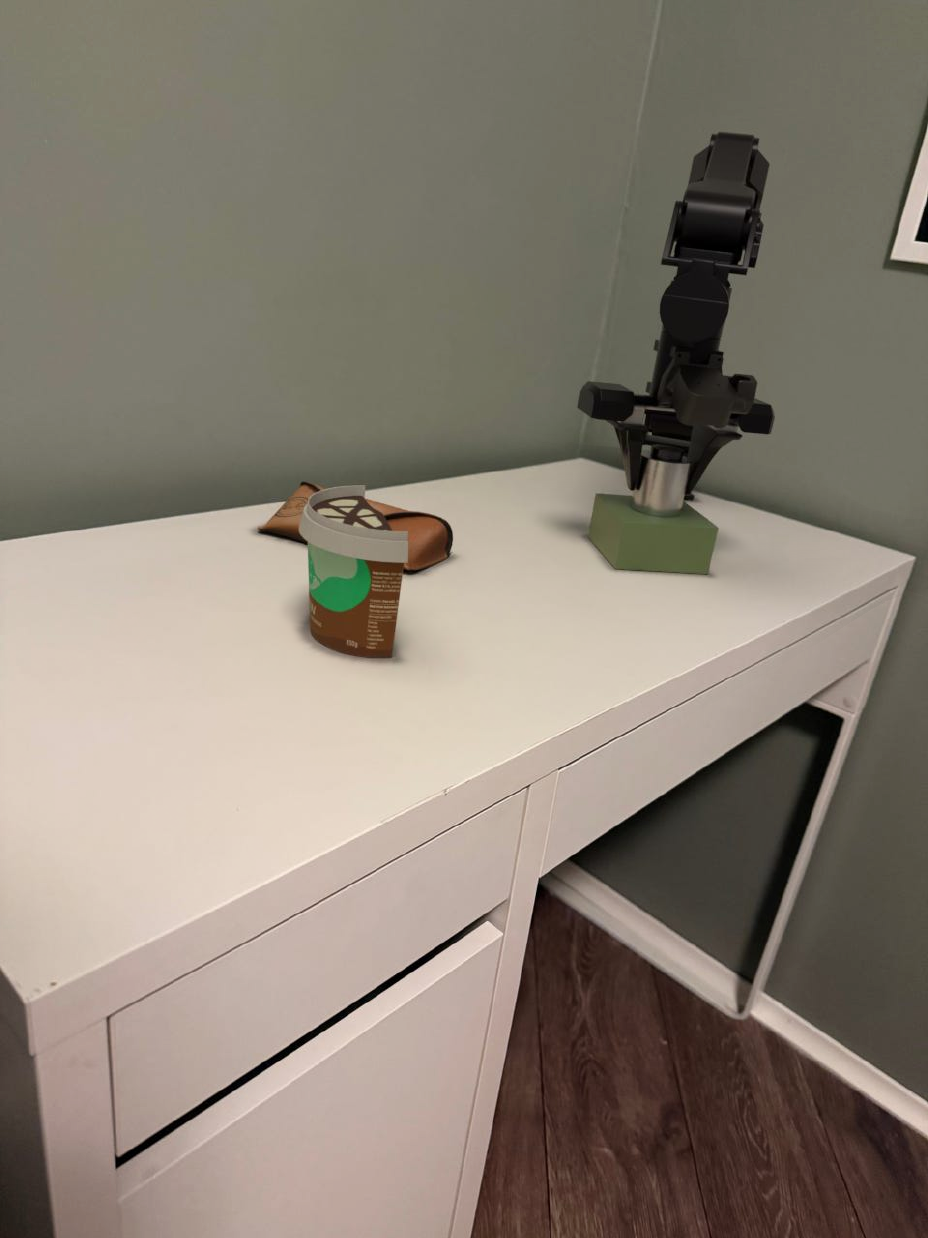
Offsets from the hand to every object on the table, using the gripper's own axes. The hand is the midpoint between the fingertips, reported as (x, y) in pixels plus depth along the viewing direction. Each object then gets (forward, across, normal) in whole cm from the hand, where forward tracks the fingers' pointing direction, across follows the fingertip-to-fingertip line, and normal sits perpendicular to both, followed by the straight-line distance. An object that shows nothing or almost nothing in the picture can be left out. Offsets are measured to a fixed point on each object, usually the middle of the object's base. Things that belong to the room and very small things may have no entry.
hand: (658, 491), depth 92 cm
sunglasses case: (+7, -31, -2) cm, 32 cm away
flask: (+2, 0, 0) cm, 2 cm away
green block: (+7, 0, 0) cm, 7 cm away
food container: (+7, -33, -23) cm, 41 cm away
